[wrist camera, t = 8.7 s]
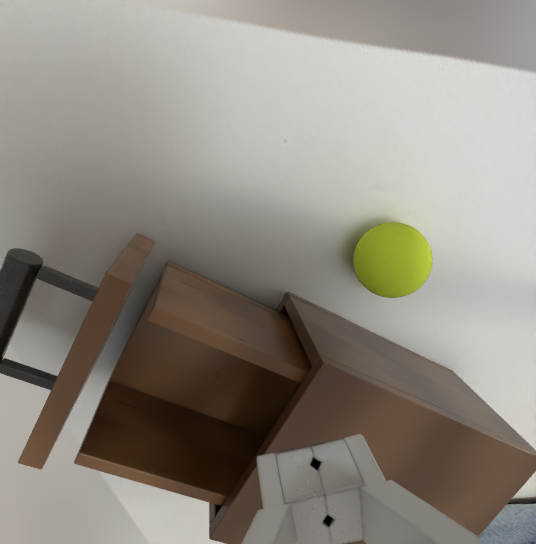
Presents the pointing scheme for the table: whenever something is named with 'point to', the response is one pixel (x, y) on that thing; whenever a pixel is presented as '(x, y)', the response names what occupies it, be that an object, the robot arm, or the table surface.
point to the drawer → (162, 375)
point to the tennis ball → (392, 260)
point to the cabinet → (389, 425)
